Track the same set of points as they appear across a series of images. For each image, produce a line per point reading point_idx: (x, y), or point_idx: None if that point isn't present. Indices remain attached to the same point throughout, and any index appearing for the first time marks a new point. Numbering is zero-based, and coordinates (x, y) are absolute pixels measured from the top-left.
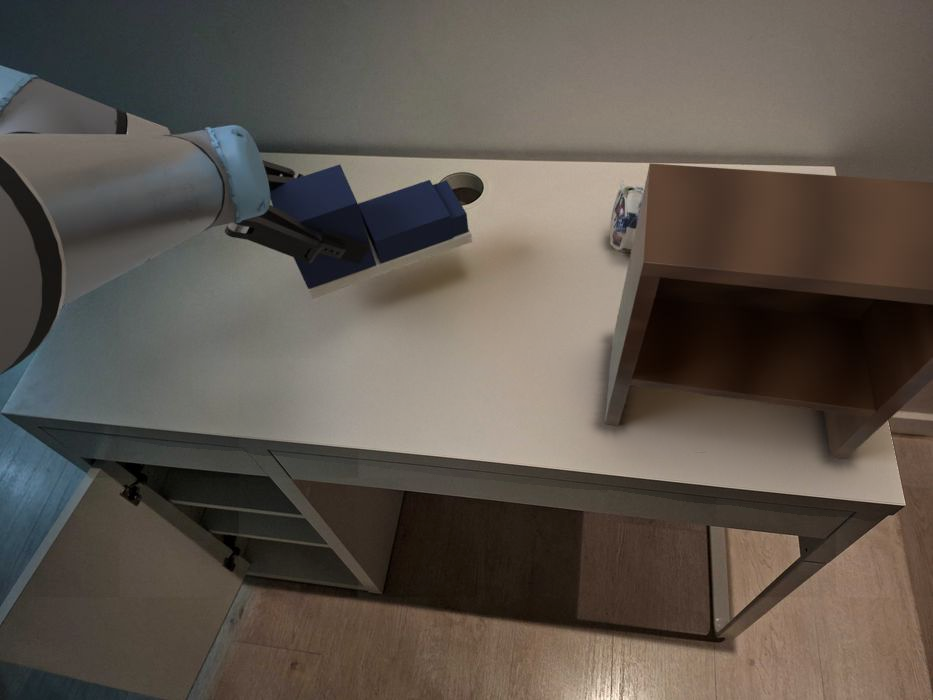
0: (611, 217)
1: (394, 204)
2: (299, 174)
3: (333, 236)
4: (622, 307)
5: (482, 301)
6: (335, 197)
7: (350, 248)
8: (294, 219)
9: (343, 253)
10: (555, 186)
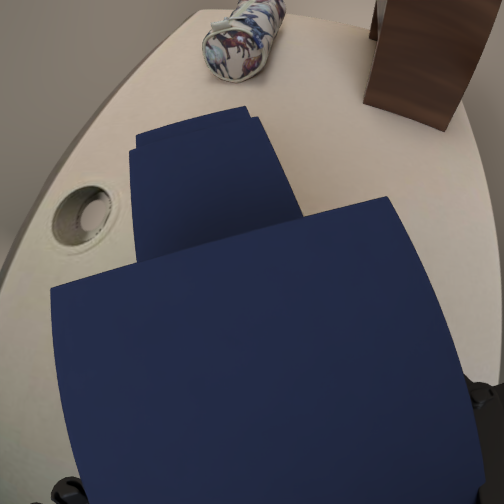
0: (226, 58)
1: (182, 220)
2: (55, 499)
3: None
4: (411, 39)
5: (305, 199)
6: (337, 314)
7: None
8: (489, 502)
9: None
10: (130, 117)
